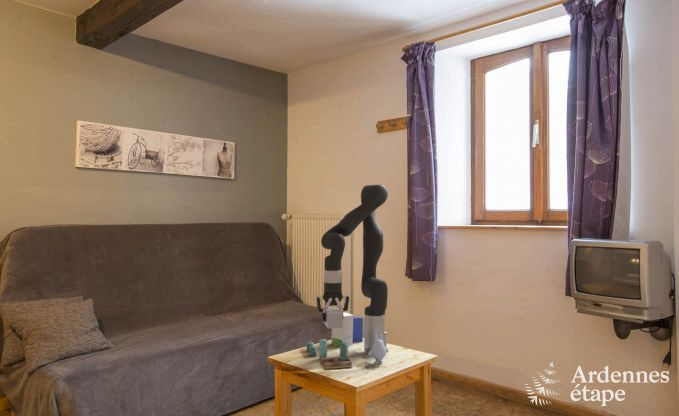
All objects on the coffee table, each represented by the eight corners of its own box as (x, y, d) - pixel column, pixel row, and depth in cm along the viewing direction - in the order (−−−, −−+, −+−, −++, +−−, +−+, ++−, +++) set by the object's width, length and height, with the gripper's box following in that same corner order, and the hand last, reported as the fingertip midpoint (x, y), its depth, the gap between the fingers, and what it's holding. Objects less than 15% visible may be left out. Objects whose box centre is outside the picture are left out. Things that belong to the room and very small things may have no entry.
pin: (326, 360, 199) (326, 339, 199) (327, 362, 196) (327, 340, 196) (318, 360, 198) (318, 339, 198) (320, 363, 195) (320, 341, 195)
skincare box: (330, 346, 220) (331, 313, 220) (341, 343, 225) (341, 311, 225) (343, 350, 214) (343, 315, 214) (353, 347, 219) (353, 313, 219)
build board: (346, 362, 196) (346, 340, 196) (351, 368, 189) (351, 346, 189) (320, 364, 194) (321, 342, 194) (324, 370, 186) (324, 347, 186)
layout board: (317, 351, 212) (317, 340, 212) (323, 359, 200) (323, 348, 200) (300, 352, 211) (300, 341, 211) (304, 360, 198) (304, 349, 198)
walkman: (361, 340, 231) (361, 316, 231) (362, 342, 228) (362, 317, 228) (345, 340, 230) (346, 316, 230) (346, 342, 227) (346, 317, 228)
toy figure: (383, 359, 201) (383, 331, 201) (392, 363, 196) (393, 334, 196) (363, 363, 195) (363, 334, 195) (373, 367, 190) (373, 338, 190)
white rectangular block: (337, 321, 201) (337, 307, 201) (342, 327, 190) (342, 313, 190) (323, 321, 200) (323, 307, 200) (327, 328, 188) (328, 313, 188)
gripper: (347, 279, 200) (347, 318, 200) (314, 280, 197) (314, 320, 197) (351, 281, 193) (351, 322, 193) (317, 282, 190) (316, 324, 190)
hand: (332, 321), depth 195 cm, fingers closed on white rectangular block, 6 cm apart
